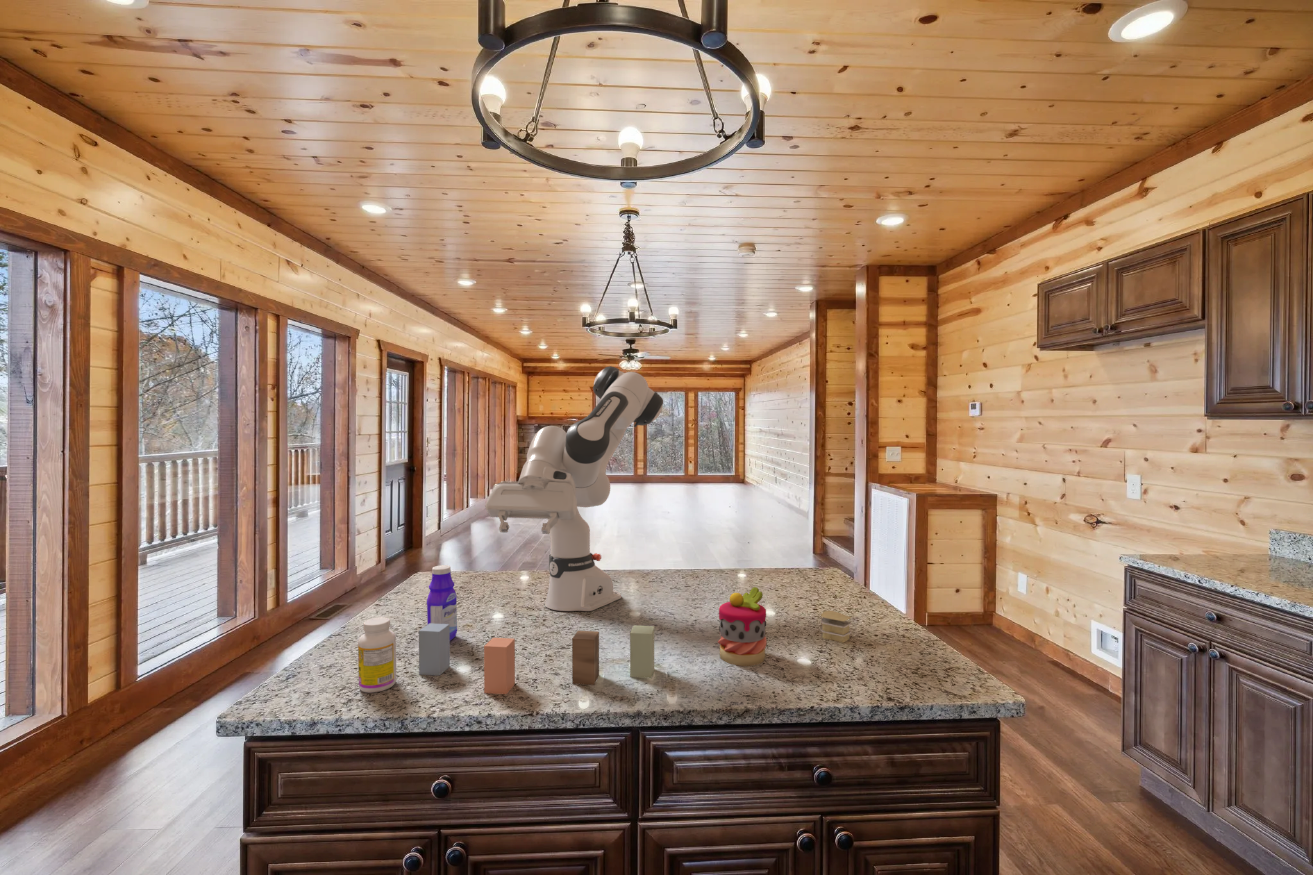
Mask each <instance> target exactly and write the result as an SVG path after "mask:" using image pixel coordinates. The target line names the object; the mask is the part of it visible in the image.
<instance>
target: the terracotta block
mask: <svg viewBox="0 0 1313 875" xmlns="http://www.w3.org/2000/svg"><path fill="white" fill-rule="evenodd" d="M515 639H516V638H513V637H511V638H509V637H508V638H507V637H492V638H491V639H490V640H489V641H488V642H487V643H486V644H485V645H483V660H484V661H483V663H484V664H483V665H484V666H483V668H484V670H483V672H484V673H483V675H484V678H483V679H484V680H483V686H484V687H483V688H484V690H483V692H484V694H496V695H508V693H509V692H510V691H511V690H512V688H514V686H515V684H516V640H515Z"/></svg>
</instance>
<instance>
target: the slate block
mask: <svg viewBox="0 0 1313 875" xmlns="http://www.w3.org/2000/svg"><path fill="white" fill-rule="evenodd" d="M450 642H451V640H450V632H449V624H433V623H429V624H428V625H427V624H426V625H425V626H423V627H422V628H420V629H419V630H418V675H422V676H439V677H440V676H441V675H442V674H443V673H445V671H446V670H448V669H449V668H450V667H451V666H450V663H451V662H450V660H451V659H450V658H451V657H450V656H451V655H450Z"/></svg>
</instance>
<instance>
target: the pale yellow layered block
mask: <svg viewBox="0 0 1313 875" xmlns="http://www.w3.org/2000/svg"><path fill="white" fill-rule="evenodd" d="M820 617H821V619H820V623H821V624H822V627H821V628H820V632H822V637H821V638H822V639H824V640H828V641H829V640H831V641H835V642H837V643H842V644H844V643H845V642H847V641H849V640H850V634H851V633H852V631H851V630H850V625H852V622H850V621H848V620H850V619H851V618H852V617H851V616H848V615H846V614H844V613H840V612H837V611H834V610H824V611H823V612H822V613H821V614H820Z"/></svg>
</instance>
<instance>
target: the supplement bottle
mask: <svg viewBox="0 0 1313 875" xmlns="http://www.w3.org/2000/svg"><path fill="white" fill-rule="evenodd" d="M390 627H391V619H390V618H389V617H385V616H380V617H379V616H378V617H373V618H368V619H366V620H364V622H363V626H362V628H363V630H364V633H363V634H362V635H361V636H360V637H359V638H358V640H357V653H358V656H357V658H358V659H357V662H358V671H357V672H358V688H359V690H360V691H361V692H363V693H371V694H373V693H379V692H382V691H383V692H384V691H386V690H388V689H390V688H392V687H393V686H394V685H395V684H396V682H397V641H396V640H397V638H396V636H397V635H396V633H395V632H394V631H393V630H391V629H390Z"/></svg>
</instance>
